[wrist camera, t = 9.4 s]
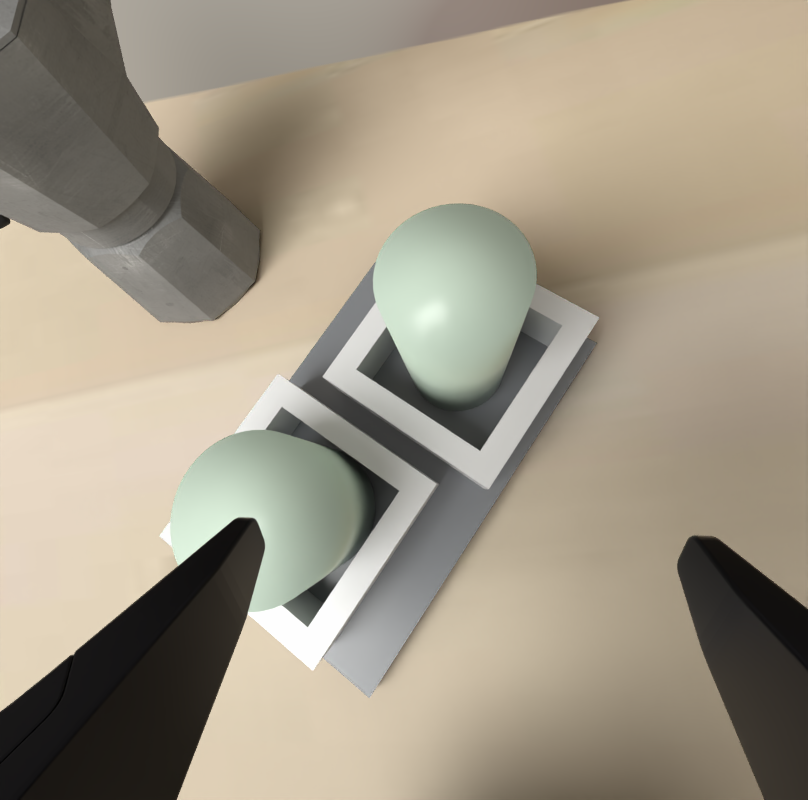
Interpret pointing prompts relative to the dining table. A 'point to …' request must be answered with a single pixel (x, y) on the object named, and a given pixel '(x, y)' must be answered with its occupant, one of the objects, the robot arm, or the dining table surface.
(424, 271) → the pale green rounded block
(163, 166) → the coffeepot
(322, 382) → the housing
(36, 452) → the dining table surface
